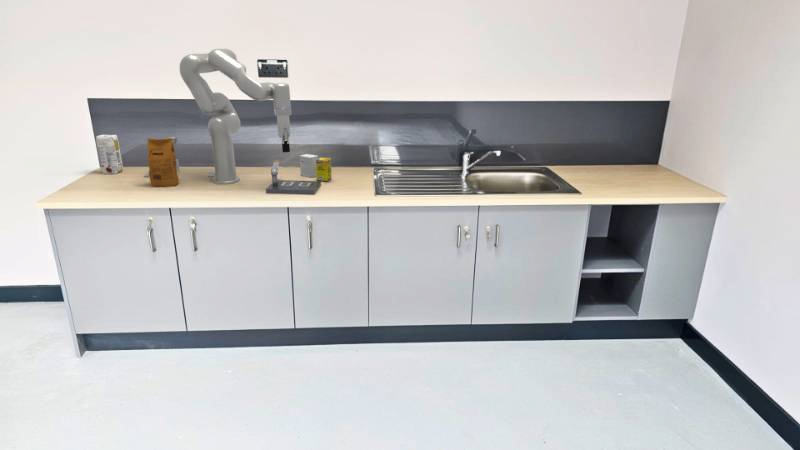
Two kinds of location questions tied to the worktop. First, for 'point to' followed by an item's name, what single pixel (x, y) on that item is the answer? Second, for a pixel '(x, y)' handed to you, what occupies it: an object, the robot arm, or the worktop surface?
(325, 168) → the supplement box
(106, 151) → the white flour bag
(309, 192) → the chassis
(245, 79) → the robot arm
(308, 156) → the small box
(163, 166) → the coffee package
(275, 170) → the cable arm
